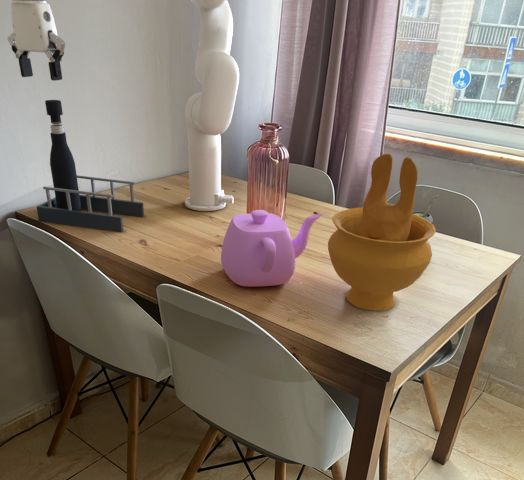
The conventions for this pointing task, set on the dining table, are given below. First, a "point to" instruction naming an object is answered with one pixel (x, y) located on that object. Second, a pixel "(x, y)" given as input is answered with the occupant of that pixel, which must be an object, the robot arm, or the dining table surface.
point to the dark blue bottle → (61, 159)
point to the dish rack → (91, 208)
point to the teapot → (262, 248)
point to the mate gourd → (425, 214)
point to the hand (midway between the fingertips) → (42, 78)
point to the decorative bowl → (381, 240)
